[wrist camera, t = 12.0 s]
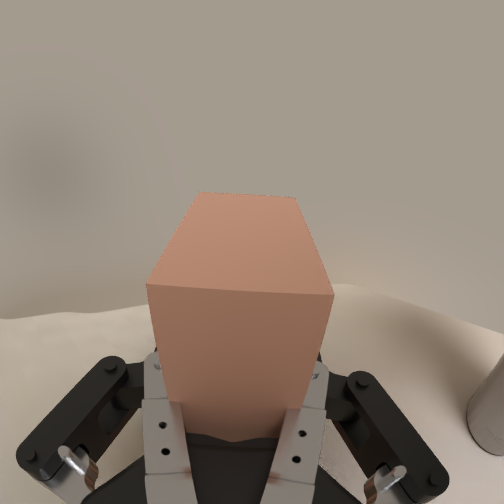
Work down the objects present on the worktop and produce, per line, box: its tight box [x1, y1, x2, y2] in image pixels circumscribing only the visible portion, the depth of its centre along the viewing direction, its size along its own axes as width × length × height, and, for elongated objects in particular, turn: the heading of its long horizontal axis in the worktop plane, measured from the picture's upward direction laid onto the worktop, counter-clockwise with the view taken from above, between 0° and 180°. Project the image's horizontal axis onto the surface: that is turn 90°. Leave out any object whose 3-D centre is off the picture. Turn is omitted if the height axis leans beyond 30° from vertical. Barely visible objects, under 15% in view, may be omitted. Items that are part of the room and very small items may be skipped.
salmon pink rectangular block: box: [146, 192, 334, 442], centre depth 13 cm, size 7×4×15 cm, turn 179°
